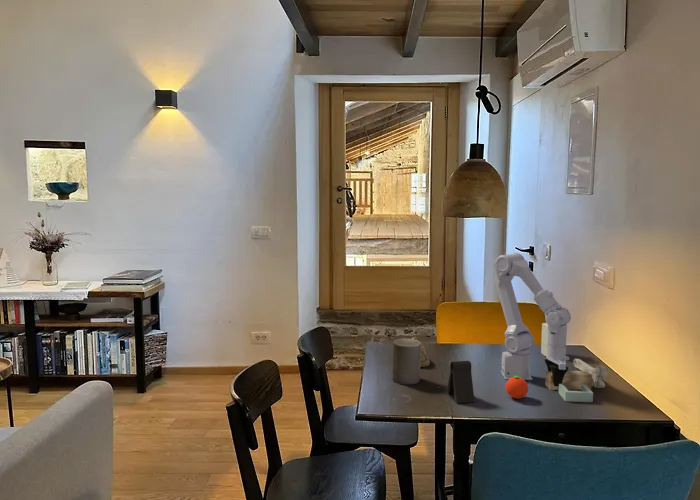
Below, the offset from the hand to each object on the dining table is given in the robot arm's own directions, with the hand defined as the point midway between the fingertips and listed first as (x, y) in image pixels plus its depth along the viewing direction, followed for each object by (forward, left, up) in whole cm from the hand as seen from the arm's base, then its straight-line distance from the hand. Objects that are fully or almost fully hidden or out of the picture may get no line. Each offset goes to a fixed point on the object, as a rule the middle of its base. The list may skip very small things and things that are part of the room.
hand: (555, 383), depth 182 cm
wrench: (+14, +10, -2) cm, 18 cm away
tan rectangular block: (+4, 0, -1) cm, 5 cm away
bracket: (+4, -8, -1) cm, 9 cm away
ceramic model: (-47, +23, -2) cm, 52 cm away
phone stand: (-33, -12, -2) cm, 35 cm away
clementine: (-15, -10, -2) cm, 18 cm away
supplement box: (+9, +36, -2) cm, 37 cm away
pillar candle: (-50, +3, -2) cm, 50 cm away
